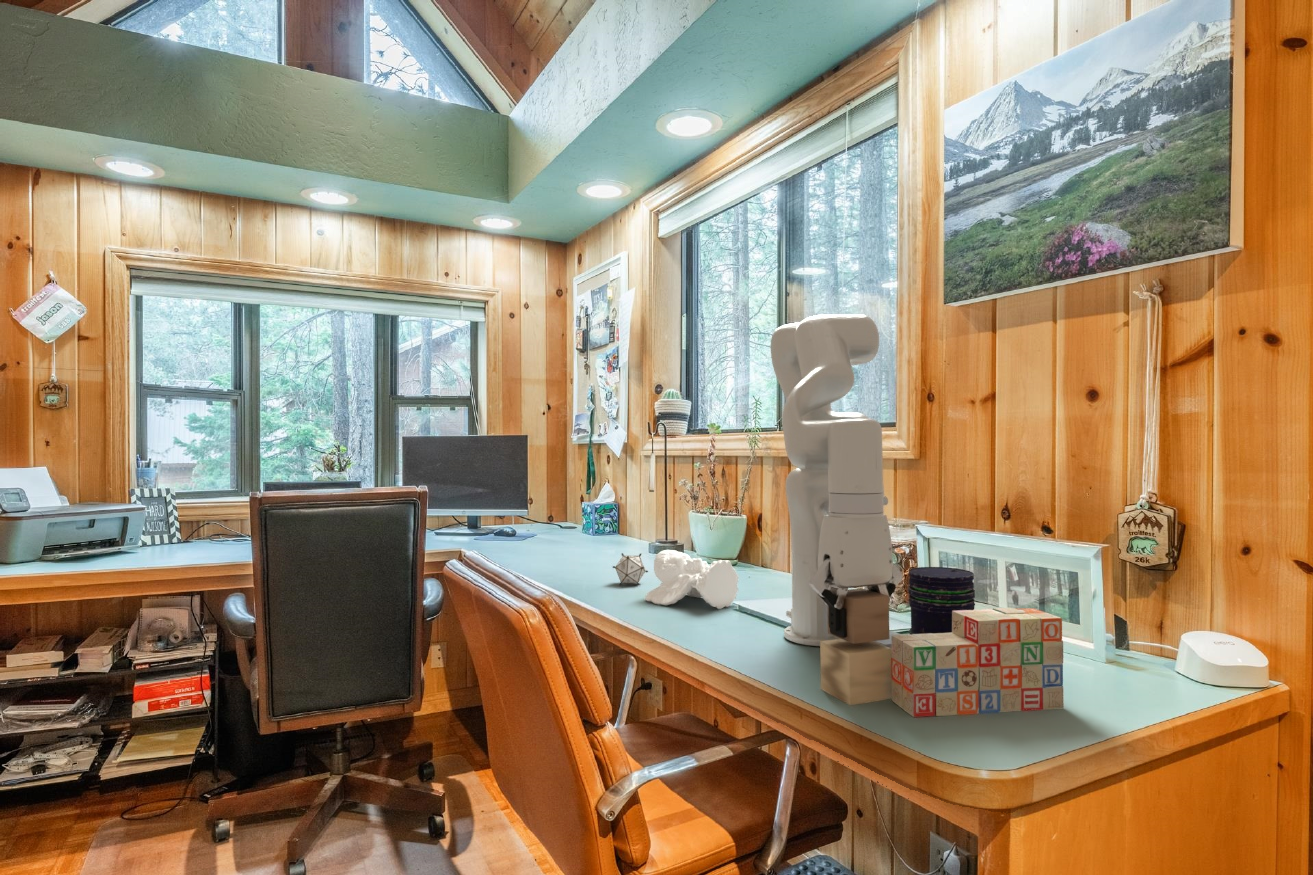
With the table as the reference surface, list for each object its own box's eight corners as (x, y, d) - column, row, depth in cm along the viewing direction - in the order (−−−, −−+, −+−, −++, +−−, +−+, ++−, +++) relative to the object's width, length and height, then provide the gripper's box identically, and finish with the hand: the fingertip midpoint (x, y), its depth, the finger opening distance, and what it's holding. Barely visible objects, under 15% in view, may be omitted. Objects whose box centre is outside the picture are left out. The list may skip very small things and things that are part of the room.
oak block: (820, 689, 103) (820, 641, 103) (861, 683, 106) (860, 636, 106) (850, 705, 97) (849, 654, 97) (892, 698, 99) (891, 648, 99)
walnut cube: (827, 633, 103) (827, 591, 103) (861, 629, 105) (861, 588, 105) (853, 643, 97) (853, 599, 97) (889, 638, 99) (888, 595, 100)
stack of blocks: (913, 719, 92) (911, 623, 92) (891, 702, 98) (889, 612, 98) (1065, 709, 95) (1063, 616, 95) (1034, 693, 101) (1032, 605, 101)
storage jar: (943, 679, 107) (942, 579, 107) (895, 662, 116) (894, 569, 116) (990, 670, 111) (989, 573, 111) (941, 654, 120) (939, 564, 120)
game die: (636, 597, 185) (658, 565, 187) (629, 592, 177) (652, 558, 180) (609, 579, 188) (631, 547, 190) (601, 572, 181) (624, 540, 183)
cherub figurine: (698, 566, 149) (637, 546, 164) (695, 624, 150) (635, 599, 165) (740, 557, 158) (679, 539, 173) (738, 612, 159) (677, 589, 174)
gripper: (887, 501, 108) (889, 621, 108) (789, 506, 102) (791, 633, 101) (922, 504, 101) (924, 632, 101) (820, 510, 95) (822, 646, 94)
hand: (857, 631), depth 101 cm, fingers closed on walnut cube, 6 cm apart
